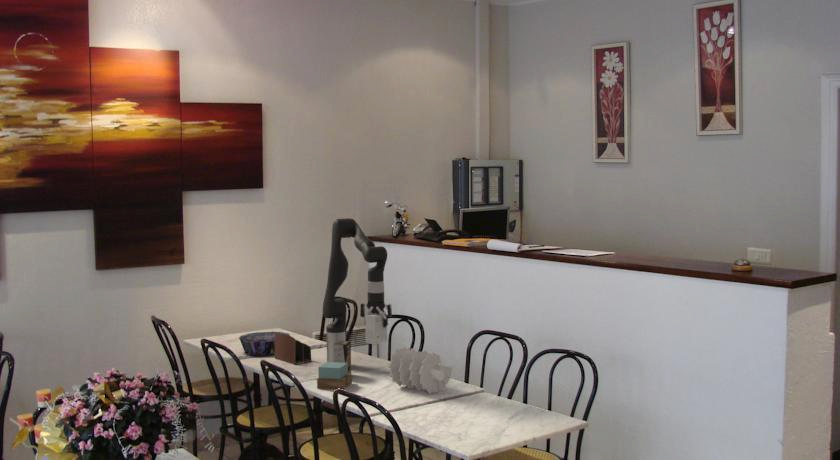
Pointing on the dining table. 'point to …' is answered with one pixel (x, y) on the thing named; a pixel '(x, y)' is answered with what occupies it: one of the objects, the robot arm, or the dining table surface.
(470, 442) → the dining table surface
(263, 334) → the decorative bowl
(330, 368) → the tower top block
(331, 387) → the tower bottom block
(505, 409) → the dining table surface
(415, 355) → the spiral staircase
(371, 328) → the small box
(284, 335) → the letter holder
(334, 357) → the coffee box
